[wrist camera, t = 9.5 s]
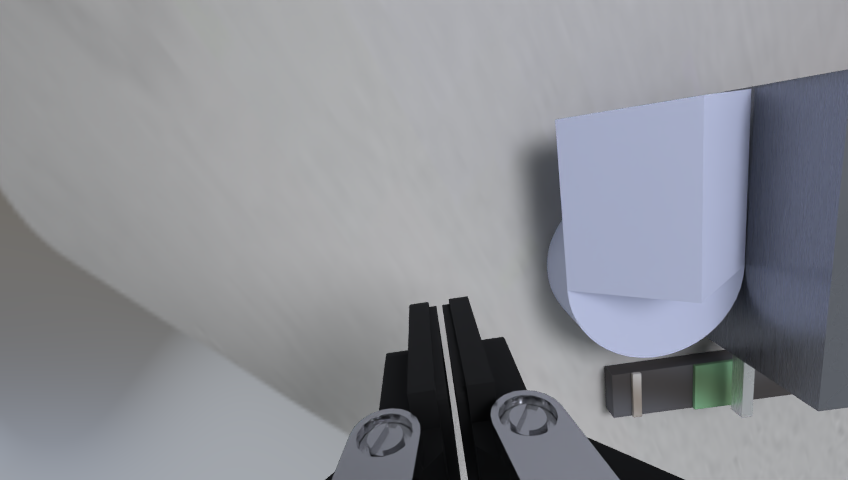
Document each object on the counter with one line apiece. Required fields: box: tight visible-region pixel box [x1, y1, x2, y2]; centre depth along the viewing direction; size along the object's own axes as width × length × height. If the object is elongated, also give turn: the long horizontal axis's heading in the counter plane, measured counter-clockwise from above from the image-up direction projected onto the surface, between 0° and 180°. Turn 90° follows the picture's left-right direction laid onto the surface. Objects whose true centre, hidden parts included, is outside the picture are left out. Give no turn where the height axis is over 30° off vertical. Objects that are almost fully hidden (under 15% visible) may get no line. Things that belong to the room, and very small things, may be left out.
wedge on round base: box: [547, 89, 751, 358], centre depth 20 cm, size 9×7×13 cm
